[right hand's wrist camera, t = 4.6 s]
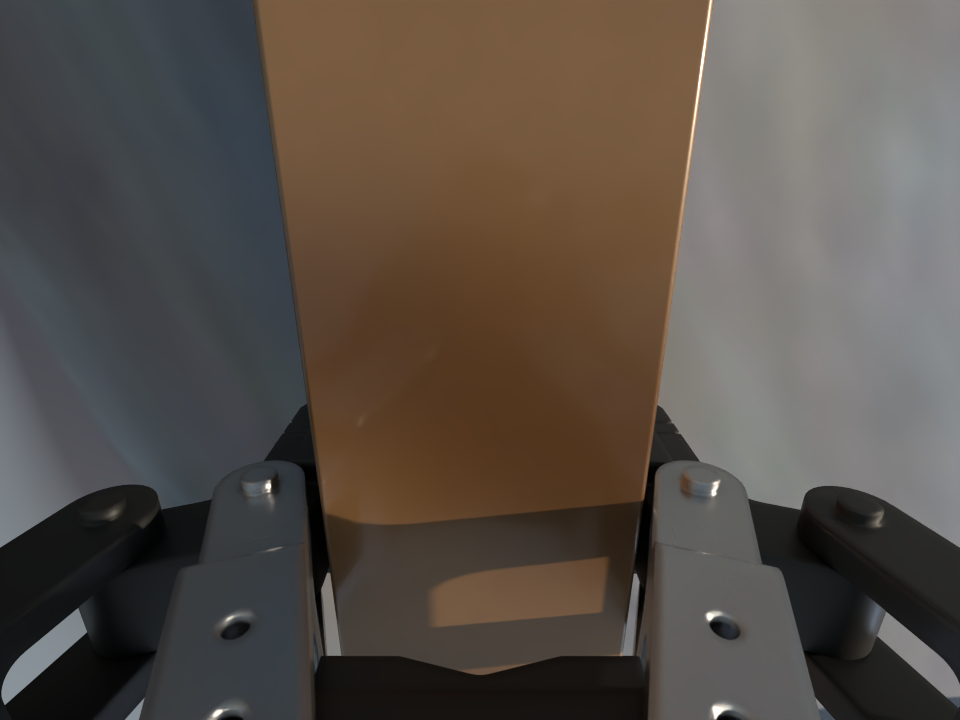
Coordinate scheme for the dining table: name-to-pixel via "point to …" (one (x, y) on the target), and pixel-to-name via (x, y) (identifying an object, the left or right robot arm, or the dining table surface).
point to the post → (482, 303)
